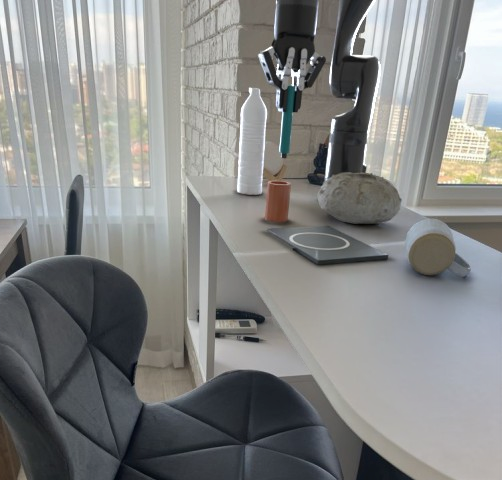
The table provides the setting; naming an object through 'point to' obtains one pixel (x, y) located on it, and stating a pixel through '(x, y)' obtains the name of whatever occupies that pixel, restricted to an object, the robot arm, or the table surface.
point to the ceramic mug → (433, 249)
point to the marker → (287, 123)
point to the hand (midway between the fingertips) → (288, 111)
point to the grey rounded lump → (359, 198)
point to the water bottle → (252, 144)
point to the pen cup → (277, 201)
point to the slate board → (327, 245)
